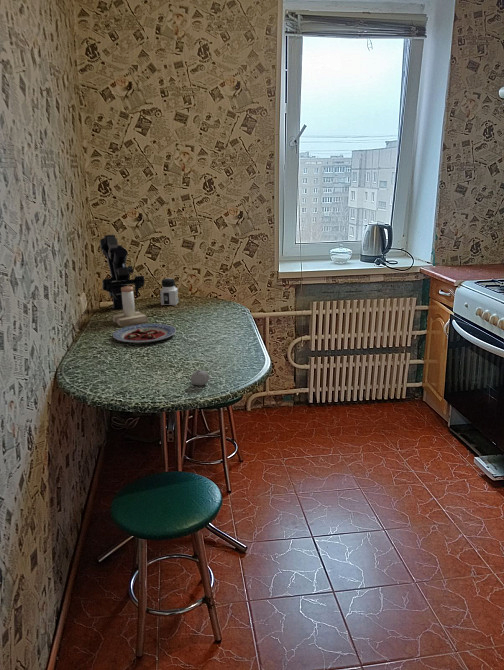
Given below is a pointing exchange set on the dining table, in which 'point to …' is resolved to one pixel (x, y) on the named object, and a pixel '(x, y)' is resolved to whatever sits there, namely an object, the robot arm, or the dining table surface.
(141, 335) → the ceramic plate
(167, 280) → the container
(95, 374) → the dining table surface
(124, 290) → the jar
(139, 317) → the base block
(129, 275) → the robot arm
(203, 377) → the garlic
